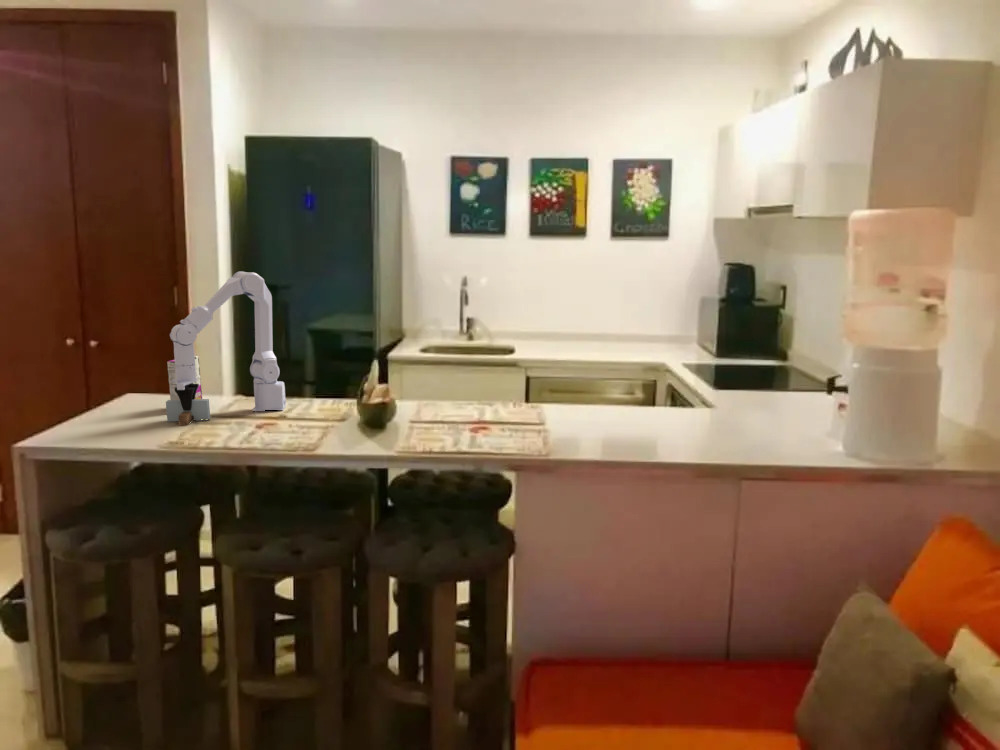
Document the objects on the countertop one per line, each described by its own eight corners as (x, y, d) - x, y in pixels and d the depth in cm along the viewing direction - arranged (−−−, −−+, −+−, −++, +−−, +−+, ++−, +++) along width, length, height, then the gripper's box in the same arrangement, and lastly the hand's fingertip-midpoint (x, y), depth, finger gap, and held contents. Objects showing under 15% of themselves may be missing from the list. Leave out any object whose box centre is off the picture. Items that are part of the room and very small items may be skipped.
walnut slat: (198, 415, 267) (198, 405, 267) (187, 425, 254) (186, 415, 253) (190, 415, 267) (190, 406, 267) (179, 425, 253) (178, 415, 253)
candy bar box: (189, 404, 283) (185, 355, 281) (203, 405, 282) (199, 355, 280) (170, 412, 273) (166, 360, 270) (184, 412, 272) (180, 361, 269)
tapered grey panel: (210, 418, 262) (208, 399, 261) (208, 420, 260) (207, 400, 259) (169, 419, 261) (167, 400, 260) (167, 421, 258) (165, 401, 257)
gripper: (177, 361, 264) (180, 404, 266) (164, 369, 250) (168, 414, 252) (201, 360, 265) (204, 404, 267) (189, 368, 251) (193, 414, 253)
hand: (188, 409), depth 260 cm, fingers closed on tapered grey panel, 2 cm apart
